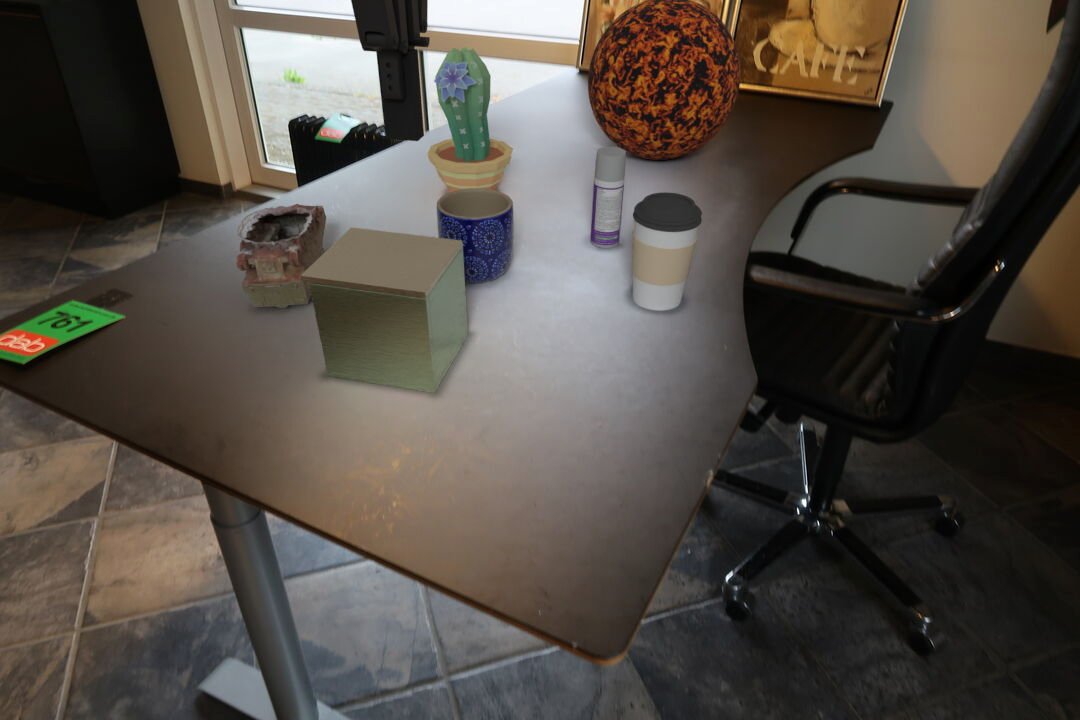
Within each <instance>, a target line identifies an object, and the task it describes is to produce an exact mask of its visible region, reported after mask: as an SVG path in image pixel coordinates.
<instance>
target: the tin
mask: <svg viewBox="0 0 1080 720" xmlns="http://www.w3.org/2000/svg"><path fill="white" fill-rule="evenodd" d="M309 286H310V291H311V296H310V297H311V300H312V304H313V309H314V315H315V319H316V324H317V329H318V335H319V339H320V340H319V341H320V344H321V349H322V354H323V359H324V364H325V369H326V374H327V376H328V377H332V378H337V379H342V380H343V379H344V380H351V381H356V382H363V383H370V384H374V385H375V384H376V385H381V386H388V387H395V388H401V389H407V390H414V391H420V392H424V393H425V392H426V393H432V394H435V393H436V391H437V390H438V388H439V386H440V385H441V383H442V381H443V379H444V378H445V376H446V374H447V372H448V370H449V369H450V367H451V365H452V364H453V362H454V360H455V358H456V357H457V355H458V353H459V351H460V349H461V348H462V347H463V344H464V342H465V341H466V339H467V337H468V335H469V334H468V314H467V297H466V282H465V277H464V259H463V247H462V248H461V250H460V251H459V252H458V254H457V255H456V257H455V258H454V259H453V261H452V262H451V264H450V265H449V266H448V268H447V269H446V271H445V272H444V273H443V275H442V276H441V278H440V279H439V280H438V282H437V283H436V285H435V286H434V287H433V289H432V290H431V292H430V293H429V294H428V296H427V297H426V298H420V297H412V296H405V295H398V294H390V293H383V292H375V291H368V290H361V289H353V288H346V287H339V286H331V285H324V284H317V283H309Z"/></svg>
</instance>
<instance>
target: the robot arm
mask: <svg viewBox="0 0 1080 720" xmlns="http://www.w3.org/2000/svg"><path fill="white" fill-rule="evenodd" d="M350 2H351V7H352V11H353V17H354V20H355V24H356V25H355V26H356V29H357V34H358V38H359V43H360V45H361V48H362V49H361V50H362V51H364V52H374V53H375V54H376V62H377V71H378V82H379V90H380V91H379V92H380V99H381V100H380V101H381V110H382V111H381V112H382V119H383V128H384V129H383V130H384V138H385V139H388V140H400V141H411V142H419V140H421V139H422V138H423V137H424V136H425V131H424V117H423V104H422V103H423V102H422V91H421V89H422V87H421V77H420V64H419V50H418V48H429V46H430V41H431V40H430V39H431V37H430V36H421V34H426V33H427V30H428V26H429V23H428V6H429V5H428V4H429V3H428V2H429V1H428V0H350ZM416 47H418V48H416Z"/></svg>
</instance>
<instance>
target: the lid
mask: <svg viewBox="0 0 1080 720" xmlns="http://www.w3.org/2000/svg"><path fill="white" fill-rule="evenodd" d="M462 247H463V241H461V240H453V239H444V238H439V237H437V236H436V237H435V236H426V235H418V234H417V235H416V234H411V233H403V232H402V233H401V232H395V231H394V232H393V231H386V230H378V229H370V228H369V229H368V228H361V227H360V228H359V227H352V226H351V227H350V228H349V229H348V230H347V231H346V232H344V234H343V235H341V236H340V237H339V238H338V239H337V240H336V241H335V242H334V243H333V244H332V245H331V246H330V247H329V248H327V250H326V251H325V252H324V254H323V255H322V256H321V257H320V258H318V259H317V260H316V261H315V262H314V263H313V264H312V265H311V266H310V267H309V268H308V269H307V270H306V271H305V272H304V273H303V274H302V275H301V279H302V282H309V283H317V284H324V285H331V286H339V287H346V288H353V289H361V290H368V291H375V292H383V293H390V294H398V295H405V296H412V297H420V298H426V297H427V296H428V294H429V293H430V292H431V290H432V289H433V287H434V286H435V285H436V283H437V282H438V280H439V279H440V278H441V276H442V275H443V273H444V272H445V271H446V269H447V268H448V266H449V265H450V264H451V262H452V261H453V259H454V258H455V257H456V255H457V254H458V252H459V251H460V250H461V248H462Z"/></svg>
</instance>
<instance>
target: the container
mask: <svg viewBox="0 0 1080 720" xmlns="http://www.w3.org/2000/svg"><path fill="white" fill-rule="evenodd" d="M626 157H627V152H626V151H625V150H623V149H621V148H620V147H618V146H604V147H600V148H598V149H597V150H596V155H595V167H594V178H593V191H592V207H591V223H590V244H591V245H593V246H594V247H597V248H600V249H611V248H616V247H617V246H618V245H619V243H620V236H621V235H620V234H621V223H622V211H623V202H624V190H625V176H626V159H627V158H626Z"/></svg>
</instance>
